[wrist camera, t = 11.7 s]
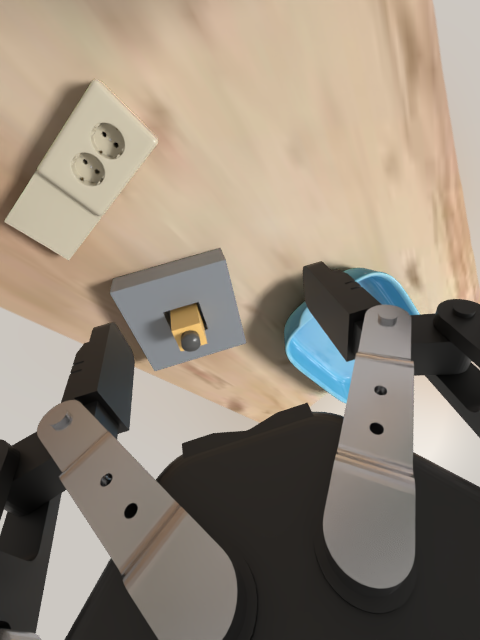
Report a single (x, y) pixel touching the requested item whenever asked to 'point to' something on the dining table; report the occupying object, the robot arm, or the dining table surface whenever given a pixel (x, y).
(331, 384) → the casserole dish
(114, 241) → the dining table surface
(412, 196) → the dining table surface
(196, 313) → the plug
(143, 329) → the socket
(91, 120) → the electrical outlet
